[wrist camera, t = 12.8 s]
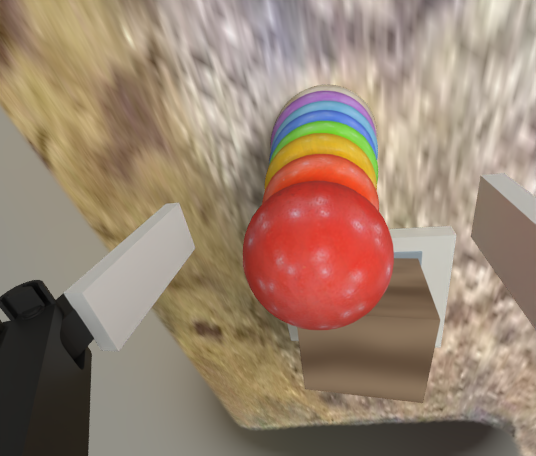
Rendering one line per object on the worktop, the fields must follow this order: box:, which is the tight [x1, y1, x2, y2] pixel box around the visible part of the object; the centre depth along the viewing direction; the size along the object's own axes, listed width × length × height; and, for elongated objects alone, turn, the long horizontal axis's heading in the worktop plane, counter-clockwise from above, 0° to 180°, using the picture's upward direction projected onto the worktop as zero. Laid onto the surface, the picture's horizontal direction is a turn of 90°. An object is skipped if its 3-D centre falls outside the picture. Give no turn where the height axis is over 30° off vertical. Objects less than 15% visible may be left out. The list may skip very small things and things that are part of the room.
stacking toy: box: [243, 85, 394, 330], centre depth 16 cm, size 8×8×19 cm
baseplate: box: [287, 226, 456, 348], centre depth 30 cm, size 14×16×2 cm
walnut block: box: [297, 258, 440, 403], centre depth 27 cm, size 10×10×7 cm
